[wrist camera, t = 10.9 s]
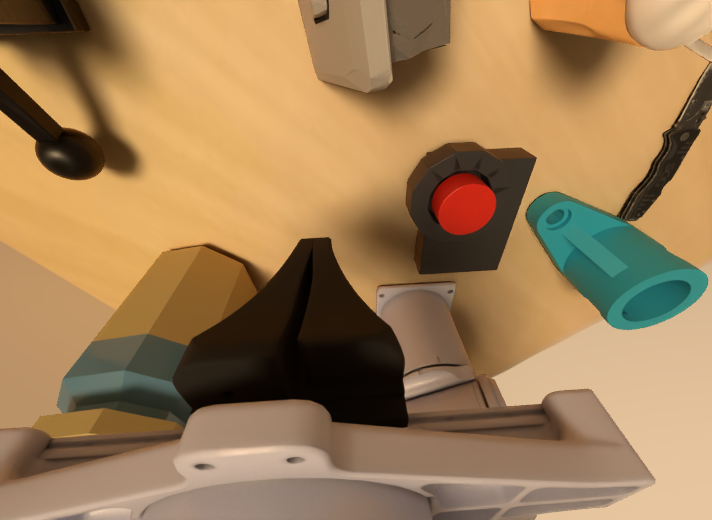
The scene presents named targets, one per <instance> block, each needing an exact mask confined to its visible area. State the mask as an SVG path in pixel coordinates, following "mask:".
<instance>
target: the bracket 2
mask: <svg viewBox="0 0 712 520" xmlns="http://www.w3.org/2000/svg"><path fill="white" fill-rule="evenodd" d="M551 213H552V214H551ZM527 221H528V223H529V224H530V226H531V228H532V229H533V231H534V232H535V234H536V236H537V237H538V239H539V241H540V242H541V244H542V245H543V247H544V249H545V250H546V252H547V254H548V255H549V257H550V258H551V260H552V262H553V263H554V265H555V266H556V267H557V268H558V270H559V271H560V272H561V273H562V274H563V275H564V276H565V277H566V278H567V279H568V280H569V281H570V282H571V284H572V285H573V286H574V287H575V288H576V289H577V290H578V291H579V292H580V293H581V294H582V295H583V296H584V297H585V298H587V299H588V300H589V301H590V302H591V303H592V304H593V305H594V306H595V307H596V308H597V309H598V310H599V311H600V314H601V316H602V317H603V318H604V319H605V320H606V321H607V322H608V323H609V324H610V325H611V326H612V327H614V328H617V329H623V330H632V329H640V328H645V327H648V326H652V325H655V324H658V323H660V322H663V321H665V320H667V319H669V318H672V317H674V316H675V315H677V314H679V313H681V312H682V311H684V310H685V309H687V308H688V307H689V306H691V305H692V304H693V303H694V302H696V301H697V300H698V299H699V298H700V297H701V296H702V294H703V293H704V291H705V290H706V288H707V285H708V277H707V275H706V274H705V273H704V272H702V271H701V270H699V269H698V268H696V267H695V266H693V265H692V264H690V263H688V262H687V261H685V260H683V259H681V258H679V257H677V256H675V255H674V254H672V253H670V252H669V251H667V250H666V248H665V247H664V246H663V245H661V244H660V243H658V242H657V241H655V240H654V239H652V238H650V237H649V236H647V235H646V234H644V233H643V232H641V231H640V230H638V229H637V228H635V227H634V226H632V225H631V224H629V223H627V222H626V221H624V220H623V219H621V218H619V217H617V216H614V215H612V214H610V213H607V212H605V211H603V210H600V209H598V208H596V207H593V206H591V205H588V204H586V203H584V202H581V201H579V200H577V199H574V198H572V197H570V196H567V195H565V194H562V193H559V192H551V193H547V194H544V195H542V196H541V197H539V198H537V199H536V200H535V201H534V202H533V203H532V204H531V206H530V207H529V209H528V211H527Z"/></svg>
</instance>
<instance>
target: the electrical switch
mask: <svg viewBox="0 0 712 520" xmlns="http://www.w3.org/2000/svg"><path fill="white" fill-rule="evenodd" d="M298 3H299V7H300V11H301V15H302V19H303V24H304V28H305V32H306V36H307V40H308V45H309V49H310V53H311V57H312V61H313V65H314V69H315V73H316V75H317V77H318V79H319V80H321V81H325V82H329V83H333V84H336V85H340V86H344V87H347V88H351V89H355V90H358V91H362V92H366V93H369V92H374V91H379V90H384V89H386V88H387V87H388V86H389V84H390V83H391V82H392V81H393V75H392V65H391V63H393V62H396V61H401V60H407V59H410V58H412V57H414V56H415V55H417V54H419V53H421V52H423V51H426V50H430V49H434V48H438V47H442V46H446V45H445V44H448V43H450V0H298ZM429 26H430V27H429ZM428 27H429V28H428ZM427 28H428V29H427ZM426 29H427V30H426ZM425 30H426V31H425ZM424 31H425V32H424ZM395 32H397V33H399V34H400V35H398V34H395ZM401 35H402V36H401Z"/></svg>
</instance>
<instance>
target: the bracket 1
mask: <svg viewBox="0 0 712 520" xmlns="http://www.w3.org/2000/svg"><path fill="white" fill-rule="evenodd" d="M90 31H91V30H90V28H89V26H88V24H87V22H86V20H85V18H84V15H83V13H82V11H81V9H80V7H79V5H78V3H77V1H76V0H0V35H16V34H41V33H66V32H90Z"/></svg>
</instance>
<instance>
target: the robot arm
mask: <svg viewBox="0 0 712 520" xmlns="http://www.w3.org/2000/svg"><path fill="white" fill-rule="evenodd" d="M455 289H456V285H455V283H453V282H445V283H428V284H411V285H394V286H381V287H378V288H377V297H376V313H374V312H373V311H372V310H371V309H370V308H369V307H368V306H367V304H366V303H365V302H364V301H363V300H362V299H361V298H360V297H359V296H358V294H357V293H356V292H355V290H354V289H353V288H352V286H351V285H350V284H349V282H348V281H347V279H346V277H345V276H344V274H343V272H342V270H341V268H340V267H339V264H338V262H337V260H336V258H335V255H334V253H333V250H332V243H331V239H330V238H329V237H326V238H308V239H301V240H300V241H299V243H298V244H297V246H296V247H295V249H294V250H293V252H292V253H291V255H290V256H289V258H288V259H287V260H286V262H285V263H284V264H283V266H282V267H281V268H280V270H279V271H278V272H277V273H276V274H275V275H274V277H273V278H272V279H271V280H270V281H269V282H268V283H267V284H266V286H265V287H264V288H263V289H262V290H260V291H259V292H258V293H257V294H256V295H255V296H254V297H253V298H252V299H250V300H249V301H248V302H247V303H245V304H244V305H243V306H242V307H241V308H239V309H238V310H237V311H235V312H234V313H232V314H231V315H229V316H228V317H227V318H225V319H224V320H222V321H221V322H219V323H217V324H216V325H214V326H212V327H211V328H209V329H207V330H205V331H204V332H202V333H200V334H199V335H197V336H195V337H193V338H192V339H191V341H190V343H189V345H188V346H187V348H186V350H185V352H184V354H183V356H182V358H181V360H180V362H179V364H178V366H177V369H176V371H175V373H174V375H173V377H172V380H173V385H174V387H175V388H176V390H177V392H178V393H179V394H180V395H181V396H182V397H183V399H184V400H185V401H186V402H187V403H188V405H189V406H190V407H191V408H192V410H191V413H190V415H189V418H188V420H187V423H186V426H185V428H184V429H174V430H160V431H145V432H131V433H116V434H102V435H88V436H73V437H59V438H51V436H50V435H49V434H47V433H46V432H44V431H42V430H40V429H36V428H29V427H23V428H8V429H0V520H534V519H535V518H536V516H537V514H543V513H550V512H559V511H568V510H578V509H589V508H600V507H608V506H610V505H612V504H614V503H616V502H618V501H620V500H622V499H624V498H626V497H628V496H630V495H632V494H634V493H637V492H639V491H640V490H643V489H645V488H647V487H649V486H651V485H653V484H655V478H654V477H653V476H652V474H651V473H650V471H649V470H648V469H647V467H646V466H645V464H644V463H643V461H642V460H641V459H640V457H639V456H638V455H637V453H636V452H635V450H634V449H633V448H632V446H631V445H630V443H629V442H628V440H627V439H626V438H625V436H624V435H623V433H622V432H621V431H620V429H619V428H618V426H617V425H616V424H615V422H614V421H613V419H612V418H611V417H610V415H609V414H608V412H607V411H606V410H605V408H604V407H603V405H602V404H601V403H600V401H599V400H598V399H597V397H596V395H595V394H594V393H593V391H592V390H590V389H579V390H564V391H556V392H552V393H550V394H548V395H547V396H546V397H545V398H544V399H543V401H542V403H541V404H535V405H521V406H506V404H505V401H504V399H503V397H502V395H501V393H500V391H499V388H498V386H497V384H496V382H495V380H494V379H492V378H490V377H487V376H486V375H485V374H483V375H480V376H478V378H479V380H478V378H477V376H476V374H475V372H474V370H473V368H472V366H471V363H470V361H469V358H468V356H467V353H466V351H465V348H464V346H463V343H462V341H461V339H460V336H459V334H458V331H457V329H456V326H455V324H454V321H453V319H452V316H451V314H450V309H451V305H452V301H453V297H454V293H455ZM449 290H450V291H449ZM380 294H383V295H380Z"/></svg>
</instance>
